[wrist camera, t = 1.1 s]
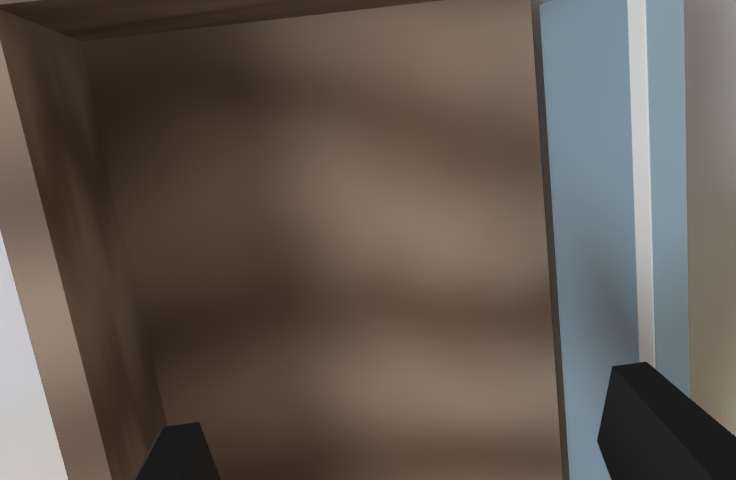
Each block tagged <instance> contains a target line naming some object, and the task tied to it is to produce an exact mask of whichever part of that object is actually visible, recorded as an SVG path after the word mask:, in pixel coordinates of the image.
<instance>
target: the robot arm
mask: <svg viewBox="0 0 736 480" xmlns="http://www.w3.org/2000/svg"><path fill="white" fill-rule="evenodd" d="M597 443H598V446H599V448H600V451H601V454H602V456H603V459H604V462H605V465H606V467H607V470H608V473H609V475H610V478H611V480H736V437H735V436H734V435H733V434H731V433H730V432H729V431H728V430H727V429H725V428H724V427H723V426H722V425H721V424H719V423H718V422H717V421H716V420H715V419H713V418H712V417H711V416H710V415H709V414H708V413H706V412H705V411H704V410H703V409H702V408H700V407H699V406H698V405H697V404H696V403H695V402H693V401H692V400H691V399H690V398H689V397H688V396H686V395H685V394H684V393H683V392H682V391H681V390H679V389H678V388H677V387H676V386H675V385H673V384H672V383H671V382H670V381H669V380H668V379H666V378H665V377H664V376H663V375H662V374H661V373H659V372H658V371H657V370H656V369H655V368H653V367H652V366H651V365H650V364H649V363H647V362H639V363H632V364H625V365H617V366H612V369H611V374H610V379H609V384H608V389H607V394H606V399H605V404H604V409H603V414H602V418H601V423H600V428H599V433H598V438H597ZM133 480H221V479H220V476H219V473H218V471H217V468H216V465H215V463H214V460H213V457H212V455H211V452H210V449H209V447H208V444H207V441H206V439H205V436H204V433H203V431H202V428H201V425H200V423H199V422H194V423H187V424H180V425H172V426H165V427H163V428H162V429H161V430H160V431H159V432H158V434H157V436H156V438H155V440H154V442H153V444H152V446H151V448H150V449H149V451H148V453H147V455H146V457H145V459H144V461H143V463H142V464H141V466H140V468H139V470H138V472H137V474H136V475H135V477H134V479H133Z"/></svg>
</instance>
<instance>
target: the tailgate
mask: <svg viewBox="0 0 736 480" xmlns="http://www.w3.org/2000/svg"><path fill="white" fill-rule="evenodd" d="M539 10H540V25H541V41H542V56H543V72H544V87H545V103H546V118H547V134H548V150H549V165H550V181H551V196H552V212H553V227H554V243H555V258H556V274H557V290H558V305H559V321H560V336H561V352H562V367H563V383H564V398H565V414H566V430H567V445H568V461H569V476H570V480H611V478H610V475H609V473H608V470H607V467H606V465H605V462H604V459H603V456H602V454H601V451H600V448H599V446H598V443H597V438H598V433H599V428H600V423H601V418H602V414H603V409H604V404H605V399H606V394H607V389H608V384H609V379H610V374H611V369H612V366H617V365H625V364H632V363H639V362H647V363H649V364H650V365H651V366H652V367H653V368H655V369H656V370H657V371H658V372H659V373H661V374H662V375H663V376H664V377H665V378H666V379H668V380H669V381H670V382H671V383H672V384H673V385H675V386H676V387H677V388H678V389H679V390H681V391H682V392H683V393H684V394H685V395H686V396H688V397H689V398H690V383H689V311H688V240H687V169H686V97H685V26H684V0H550V1H547V2H545V3H543V4H540V5H539Z"/></svg>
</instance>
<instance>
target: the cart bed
mask: <svg viewBox="0 0 736 480" xmlns="http://www.w3.org/2000/svg"><path fill="white" fill-rule="evenodd" d="M0 230H1V234H2V237H3V241H4V245H5V248H6V252H7V256H8V259H9V263H10V267H11V270H12V274H13V278H14V281H15V285H16V289H17V292H18V296H19V300H20V303H21V307H22V311H23V314H24V318H25V322H26V326H27V329H28V333H29V337H30V340H31V344H32V348H33V351H34V355H35V359H36V362H37V366H38V370H39V373H40V377H41V381H42V384H43V388H44V392H45V395H46V399H47V403H48V406H49V410H50V414H51V417H52V421H53V425H54V428H55V432H56V436H57V439H58V443H59V447H60V450H61V454H62V458H63V461H64V465H65V469H66V472H67V476H68V480H133V479H134V477H135V475H136V474H137V472H138V470H139V468H140V466H141V464H142V463H143V461H144V459H145V457H146V455H147V453H148V451H149V449H150V448H151V446H152V444H153V442H154V440H155V438H156V436H157V434H158V432H159V431H160V430H161V429H162V428H163V427H165V426H172V425H180V424H187V423H194V422H199V423H200V425H201V428H202V431H203V433H204V436H205V439H206V441H207V444H208V447H209V449H210V452H211V455H212V457H213V460H214V463H215V465H216V468H217V471H218V473H219V476H220V479H221V480H563V476H562V461H561V446H560V431H559V416H558V402H557V387H556V372H555V357H554V342H553V327H552V312H551V297H550V282H549V268H548V253H547V238H546V223H545V208H544V193H543V178H542V163H541V148H540V134H539V119H538V104H537V89H536V74H535V59H534V44H533V29H532V14H531V0H0Z"/></svg>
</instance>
